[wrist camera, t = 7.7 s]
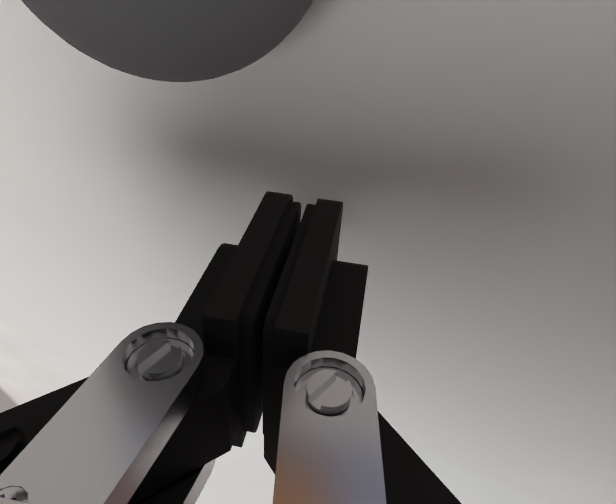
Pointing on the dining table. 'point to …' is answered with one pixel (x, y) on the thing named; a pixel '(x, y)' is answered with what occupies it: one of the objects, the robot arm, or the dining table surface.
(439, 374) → the dining table surface
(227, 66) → the gray ball
